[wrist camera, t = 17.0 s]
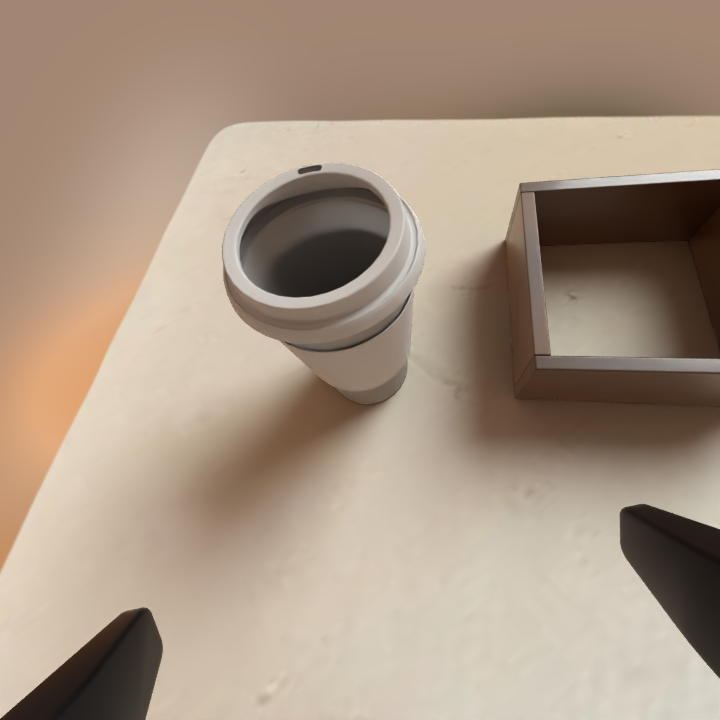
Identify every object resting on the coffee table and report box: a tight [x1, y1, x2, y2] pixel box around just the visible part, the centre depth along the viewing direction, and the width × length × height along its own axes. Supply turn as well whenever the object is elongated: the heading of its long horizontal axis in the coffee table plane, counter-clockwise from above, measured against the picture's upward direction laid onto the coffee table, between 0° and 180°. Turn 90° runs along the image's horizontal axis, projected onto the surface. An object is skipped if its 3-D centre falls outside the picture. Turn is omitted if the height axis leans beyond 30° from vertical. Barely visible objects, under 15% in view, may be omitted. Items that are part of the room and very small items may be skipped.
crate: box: [506, 169, 720, 407], centre depth 19 cm, size 11×11×4 cm
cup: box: [222, 163, 425, 404], centre depth 17 cm, size 7×7×12 cm
